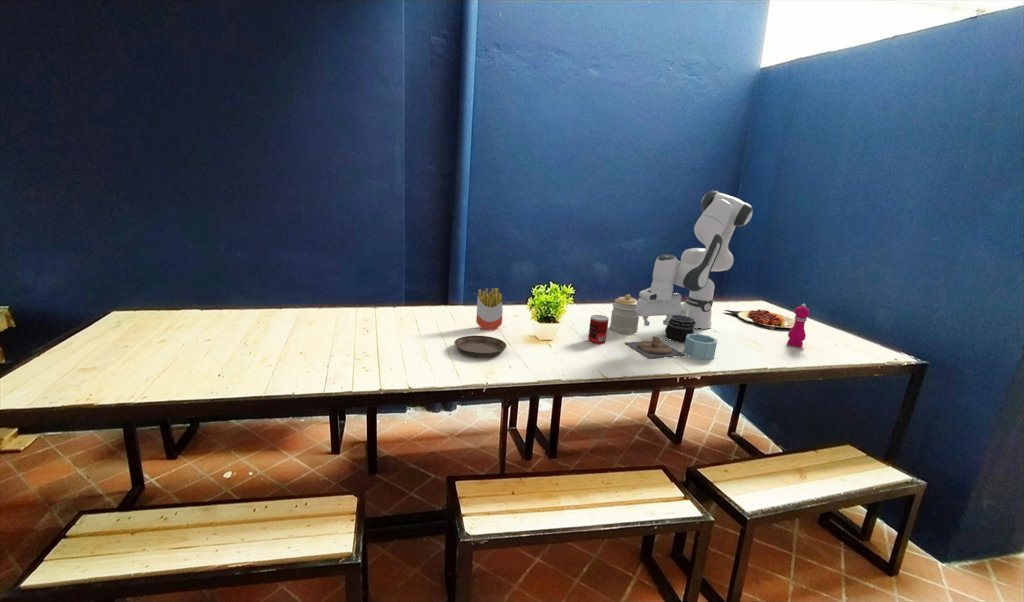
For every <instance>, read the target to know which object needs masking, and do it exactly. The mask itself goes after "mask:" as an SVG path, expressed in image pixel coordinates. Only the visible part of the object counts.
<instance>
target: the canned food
mask: <svg viewBox="0 0 1024 602" xmlns="http://www.w3.org/2000/svg"><path fill="white" fill-rule="evenodd" d="M609 319H610V318H609V317H608V316H606V315H601V314H593V315H591V316H590V319H589V320H590V321H589V329H588V336H587V337H588V342H590V343H591V344H594V345H595V344H596V345H604V344H605V343H606V341H607V335H608V327H609Z"/></svg>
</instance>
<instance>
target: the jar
mask: <svg viewBox="0 0 1024 602" xmlns="http://www.w3.org/2000/svg"><path fill="white" fill-rule="evenodd" d="M614 301H615V302H614V303H612V310H611V319H610V324H609V329H610V331H612V332H613V333H618V334H622V335H635V334H637V333H638V329H639V320H640V316H639V315H637V314H636V305H637V301H638V299H636V298H633V297H631V295H630V294H627V293H626V294H625V295H624V296H619V297H617V298H615V299H614Z"/></svg>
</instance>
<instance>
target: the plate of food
mask: <svg viewBox="0 0 1024 602" xmlns="http://www.w3.org/2000/svg"><path fill="white" fill-rule="evenodd" d="M723 311H725V312H728V313H731V314H734V315H736V316H738V317H739V318H740V319H743V320H745V321H747V322H749V321H750V319H751V322H753V323H754V324H756V325H761V326H764V327H765V328H766V329H768V330H769V331H770V330H771V331H772V330H774V329H775V328H786V329H787V328H788V329H791V328H792V327H793V326H794V323H795V319H794V318H791V317H789V316H785V315H781V314H778V313H775V312H771V311H770V310H766V309H760V308H759V309H757V310H753V309H751V310H746V311H743V310H741V311H740V310H739V311H738V310H729V309H725V310H723ZM785 322H787V323H788V324H789V325H788V324H787V323H785ZM785 326H786V327H785Z"/></svg>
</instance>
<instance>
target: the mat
mask: <svg viewBox="0 0 1024 602" xmlns="http://www.w3.org/2000/svg"><path fill="white" fill-rule="evenodd" d="M642 341H643V340H641V341H629V342H628V341H627V342H624V345H626V346H627V345H628V346H627V347H629V346H630V347H629V348H631V349H632V348H633V349H632V350H634V351H635V350H636V352H637V353H639V355H642V356H643V357H645V358H646V357H647V359H648V360H652V359H653V360H654V359H664V357H668V358H674V357H673V356H680V357H685V356H686V354H685V353H683V352H682V351H679V350H677V348H674V347H672V346H670V347H671V348H672V352H671V353H669V354H663V355H661V354H652V353H648V352H645V351H643V350H641V349H639V348H638V343H639V342H642ZM659 342H661V343H664V344H666V343H665V342H663V341H661V340H660V341H659Z"/></svg>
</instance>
